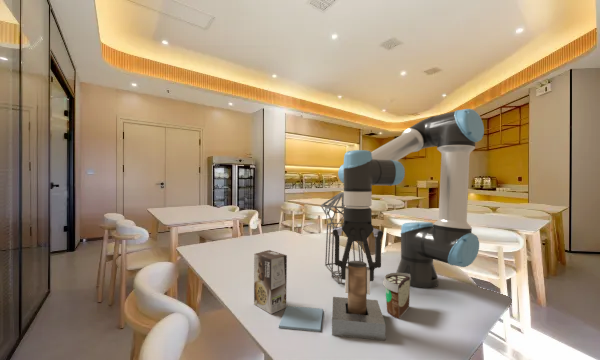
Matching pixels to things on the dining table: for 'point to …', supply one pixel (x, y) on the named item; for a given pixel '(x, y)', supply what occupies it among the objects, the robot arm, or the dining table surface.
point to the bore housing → (357, 321)
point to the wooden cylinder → (357, 287)
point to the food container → (397, 293)
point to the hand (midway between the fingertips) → (357, 291)
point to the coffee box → (270, 280)
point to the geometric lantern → (333, 234)
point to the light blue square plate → (302, 318)
